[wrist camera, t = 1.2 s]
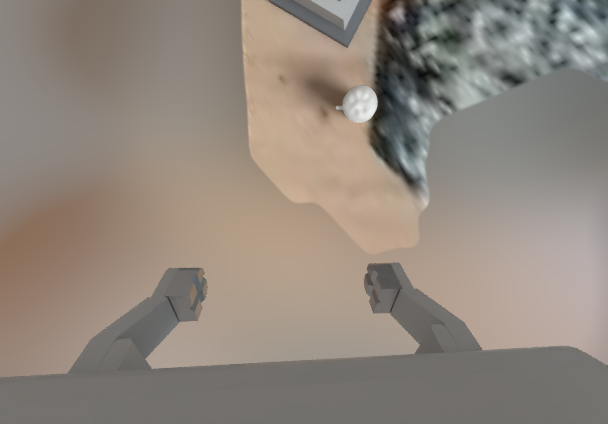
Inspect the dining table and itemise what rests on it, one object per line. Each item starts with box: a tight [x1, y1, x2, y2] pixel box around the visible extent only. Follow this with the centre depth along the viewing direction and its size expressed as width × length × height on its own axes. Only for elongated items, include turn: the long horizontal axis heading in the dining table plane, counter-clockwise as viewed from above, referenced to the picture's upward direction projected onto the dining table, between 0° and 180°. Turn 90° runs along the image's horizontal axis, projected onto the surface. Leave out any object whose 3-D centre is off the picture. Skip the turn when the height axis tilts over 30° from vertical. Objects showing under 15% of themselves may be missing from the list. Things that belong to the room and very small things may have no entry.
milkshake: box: [336, 85, 377, 123], centre depth 34 cm, size 5×5×10 cm
